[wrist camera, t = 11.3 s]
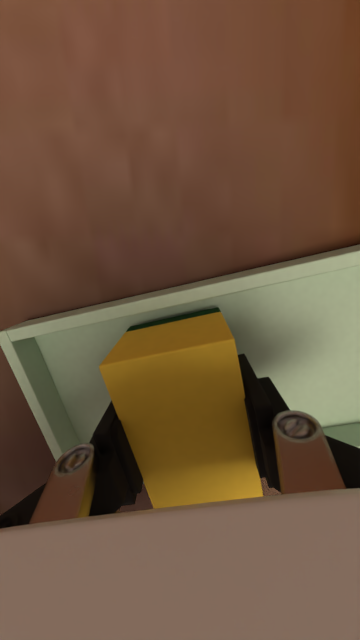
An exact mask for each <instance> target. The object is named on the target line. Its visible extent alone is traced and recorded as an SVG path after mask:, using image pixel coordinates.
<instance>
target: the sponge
mask: <svg viewBox="0 0 360 640" xmlns="http://www.w3.org/2000/svg"><path fill="white" fill-rule="evenodd" d="M99 369H100V372H101V374H102V377H103V380H104V382H105V385H106V387H107V390H108V392H109V395H110V397H111V400H112V403H113V405H114V408H115V410H116V413H117V415H118V418H119V420H121V423H122V426H123V428H124V431H125V433H126V436H127V438H128V441H129V444H130V446H131V449H132V451H133V454H134V457H135V459H136V462H137V464H138V467H139V469H140V472H141V475H142V477H143V482H144V484H145V487H146V490H147V492H148V495H149V497H150V500H151V502H152V505H153V508H154V509H156V508H165V507H173V506H182V505H191V504H199V503H208V502H217V501H226V500H235V499H244V498H254V497H263V492H262V486H261V481H260V476H259V473H258V470H257V466H256V462H255V457H254V451H253V446H252V440H251V435H250V429H249V424H248V418H247V413H246V407H245V402H244V398H245V393H244V387H243V382H242V376H241V371H240V365H239V360H238V354H237V349H236V343H235V339H234V337H233V335H232V333H231V331H230V329H229V327H228V325H227V323H226V321H225V319H224V317H223V315H222V313H221V311H220V309H219V307H216V308H212V309H207V310H202V311H198V312H193V313H189V314H184V315H180V316H175V317H171V318H166V319H161V320H157V321H152V322H148V323H143V324H139V325H134V326H130V327H129V328H128V330H127V331H126V332H125V333H124V335H123V336H122V337H121V338H120V340H119V341H118V342H117V343H116V345H115V346H114V347H113V349H112V350H111V351H110V352H109V354H108V355H107V356H106V358H105V359H104V360H103V361H102V363H101V364H100V365H99Z"/></svg>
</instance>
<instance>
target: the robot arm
mask: <svg viewBox="0 0 360 640" xmlns="http://www.w3.org/2000/svg"><path fill="white" fill-rule="evenodd" d="M238 360H239V365H240V371H241V376H242V382H243V387H244V393H245V398H244V402H245V407H246V413H247V418H248V424H249V429H250V435H251V440H252V446H253V451H254V457H255V462H256V466H257V470H258V473H259V476H260V478H263V477H266V480H267V483H268V486H269V488H272V487H273V488H275V489H276V490H278V491H280V492H281V495H272V496H263V497H254V498H244V499H235V500H226V501H217V502H208V503H199V504H191V505H182V506H173V507H165V508H156V509H148V510H139V511H131V512H122V513H120V507H121V506H123V505H132V504H135V501H136V496H137V493H140V492H141V489H142V485H143V477H142V475H141V472H140V469H139V467H138V464H137V462H136V459H135V457H134V454H133V451H132V449H131V446H130V444H129V441H128V438H127V436H126V433H125V431H124V428H123V426H122V423H121V420H119V418H118V415H117V413H116V410H115V408H114V405H113V403H112V400H111V402H110V404H109V406H108V408H107V409H106V411H105V413H104V415H103V417H102V418H101V420H100V422H99V424H98V425H97V427H96V429H95V431H94V433H93V434H92V435H93V436H92V438H91V440H90V442H89V443H81V444H78V445H75V446H73V447H72V448H70V449H68V450H67V451H66V452H65V453H63V454H62V455H61V456H60V458H59V459H58V460H57V462H56V463H55V465H54V467H53V470H52V472H51V474H50V476H49V479H48V481H47V483H45V484H44V485H42V486H41V487H40V488H38V489H37V490H35V491H34V492H33V493H31V494H30V495H29V496H27V497H26V498H24V499H23V500H22V501H20V502H19V503H17V504H16V505H15V506H13V507H12V508H11V509H9V510H8V511H6V512H5V513H4V514H2V515H1V516H0V640H360V448H358V447H355V446H352V445H350V444H347V443H345V442H342V441H339V440H337V439H334V438H332V437H329V436H326V435H325V434H324V432H323V429H322V427H321V425H320V423H319V422H318V420H317V419H315V418H314V417H313V416H311V415H309V414H307V413H305V412H301V411H296V410H290V409H289V407H288V406H287V404H286V403H285V401H284V399H283V398H282V396H281V395H280V393H279V392H278V390H277V388H276V387H275V385H274V384H273V382H272V381H271V379H270V378H269V377H262V378H257V376H256V374H255V372H254V371H253V369H252V367H251V365H250V363H249V361H248V359H247V357H246V355H245V354H239V355H238Z"/></svg>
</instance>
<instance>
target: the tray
mask: <svg viewBox="0 0 360 640" xmlns="http://www.w3.org/2000/svg"><path fill="white" fill-rule="evenodd" d="M216 307H219V309H220V311H221V313H222V315H223V317H224V319H225V321H226V323H227V325H228V327H229V329H230V331H231V333H232V335H233V337H234V339H235V343H236V349H237V354H238V355H239V354H245V355H246V357H247V359H248V361H249V363H250V365H251V367H252V369H253V371H254V372H255V374H256V376H257V378H262V377H269V378H270V379H271V381H272V382H273V384H274V385H275V387H276V388H277V390H278V392H279V393H280V395H281V396H282V398H283V399H284V401H285V403H286V404H287V406H288V407H289V409H290V410H296V411H301V412H305V413H307V414H309V415H311V416H313V417H314V418H315V419H317V420H318V422H319V423H320V425H321V427H322V429H323V432H324V434H325V435H326V436H329V437H332V438H334V439H337V440H339V441H342V442H345V443H347V444H350V445H352V446H355V447H358V448H360V245H355V246H351V247H347V248H342V249H338V250H333V251H329V252H325V253H320V254H316V255H312V256H307V257H303V258H299V259H294V260H290V261H285V262H281V263H277V264H272V265H268V266H264V267H259V268H255V269H251V270H246V271H242V272H237V273H233V274H229V275H224V276H220V277H216V278H211V279H207V280H203V281H198V282H194V283H190V284H185V285H181V286H176V287H172V288H168V289H163V290H159V291H155V292H150V293H146V294H142V295H137V296H133V297H128V298H124V299H120V300H115V301H111V302H107V303H102V304H98V305H94V306H89V307H85V308H80V309H76V310H72V311H67V312H63V313H59V314H54V315H50V316H46V317H41V318H37V319H33V320H28V321H25V322H22V323H20V324H17V325H14V326H12V327H9V328H7V329H4V330H2V331H0V345H1V347H2V350H3V352H4V354H5V356H6V358H7V360H8V362H9V364H10V366H11V368H12V370H13V373H14V375H15V377H16V379H17V381H18V383H19V385H20V387H21V389H22V391H23V393H24V396H25V398H26V400H27V402H28V404H29V406H30V408H31V410H32V412H33V414H34V417H35V419H36V421H37V423H38V425H39V427H40V429H41V431H42V433H43V435H44V437H45V440H46V442H47V444H48V446H49V448H50V450H51V452H52V454H53V456H54V458H55V460H56V462H57V460H58V459H59V458H60V456H61V455H62V454H63V453H65V452H66V451H67V450H68V449H70V448H72V447H73V446H75V445H78V444H81V443H89V442H90V440H91V438H92V436H93V435H92V434H93V433H94V431H95V429H96V427H97V425H98V424H99V422H100V420H101V418H102V417H103V415H104V413H105V411H106V409H107V408H108V406H109V404H110V402H111V397H110V395H109V392H108V390H107V387H106V385H105V382H104V380H103V377H102V374H101V372H100V369H99V365H100V364H101V363H102V361H103V360H104V359H105V358H106V356H107V355H108V354H109V352H110V351H111V350H112V349H113V347H114V346H115V345H116V343H117V342H118V341H119V340H120V338H121V337H122V336H123V335H124V333H125V332H126V331H127V330H128V328H129V327H130V326H134V325H139V324H143V323H148V322H152V321H157V320H161V319H166V318H171V317H175V316H180V315H184V314H189V313H193V312H198V311H202V310H207V309H212V308H216ZM143 484H144V482H143Z"/></svg>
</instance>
